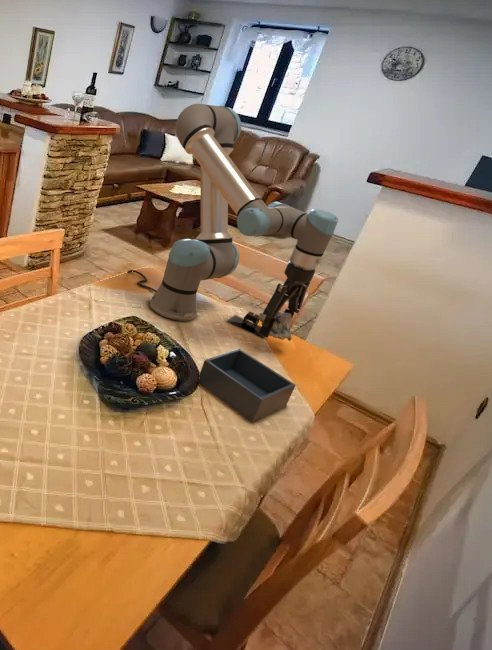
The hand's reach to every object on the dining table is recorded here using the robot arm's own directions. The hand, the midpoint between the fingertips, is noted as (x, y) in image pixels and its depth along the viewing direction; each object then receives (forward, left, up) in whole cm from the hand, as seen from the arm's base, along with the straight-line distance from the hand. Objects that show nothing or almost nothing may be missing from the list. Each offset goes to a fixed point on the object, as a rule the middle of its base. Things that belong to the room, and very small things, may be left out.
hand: (272, 331), depth 153 cm
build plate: (-11, +5, -5) cm, 13 cm away
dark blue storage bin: (+12, -30, -5) cm, 33 cm away
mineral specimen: (0, 0, -1) cm, 1 cm away
